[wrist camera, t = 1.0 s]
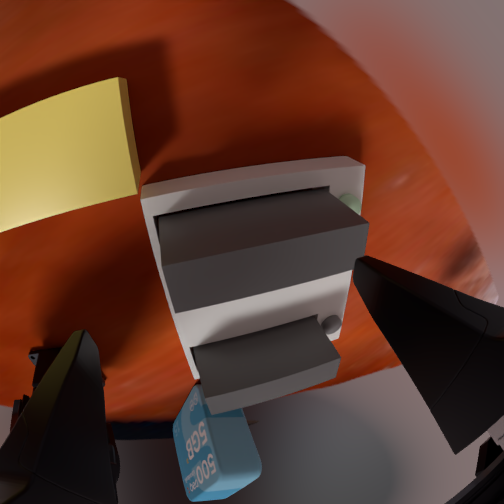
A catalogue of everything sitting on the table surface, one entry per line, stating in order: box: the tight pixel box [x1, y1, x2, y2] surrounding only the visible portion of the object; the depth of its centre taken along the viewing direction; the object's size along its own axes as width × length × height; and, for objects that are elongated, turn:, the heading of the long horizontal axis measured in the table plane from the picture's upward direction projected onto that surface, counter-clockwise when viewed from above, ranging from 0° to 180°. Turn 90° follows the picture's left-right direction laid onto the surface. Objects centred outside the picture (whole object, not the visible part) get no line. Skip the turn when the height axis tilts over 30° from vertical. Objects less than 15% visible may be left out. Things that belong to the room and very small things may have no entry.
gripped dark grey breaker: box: [159, 188, 369, 314], centre depth 17 cm, size 3×11×5 cm, turn 95°
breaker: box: [193, 315, 341, 415], centre depth 24 cm, size 3×11×5 cm, turn 95°
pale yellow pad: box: [0, 77, 141, 232], centre depth 13 cm, size 6×14×4 cm, turn 95°
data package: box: [173, 384, 262, 501], centre depth 29 cm, size 12×4×12 cm, turn 156°
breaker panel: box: [140, 156, 365, 379], centre depth 24 cm, size 18×15×3 cm
